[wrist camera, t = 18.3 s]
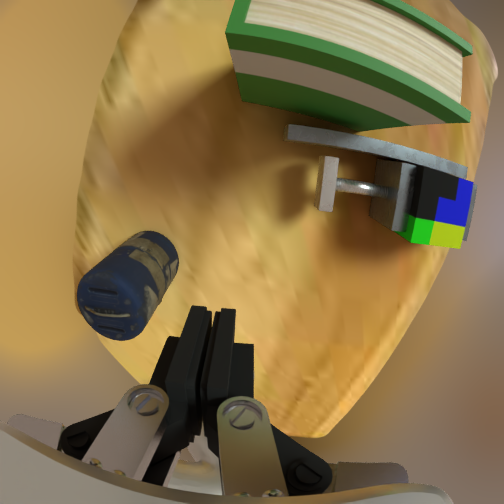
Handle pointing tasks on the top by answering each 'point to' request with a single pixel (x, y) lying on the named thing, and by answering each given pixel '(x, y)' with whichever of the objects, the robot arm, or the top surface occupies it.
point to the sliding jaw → (371, 190)
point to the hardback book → (348, 61)
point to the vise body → (378, 153)
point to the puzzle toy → (438, 209)
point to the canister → (128, 285)
